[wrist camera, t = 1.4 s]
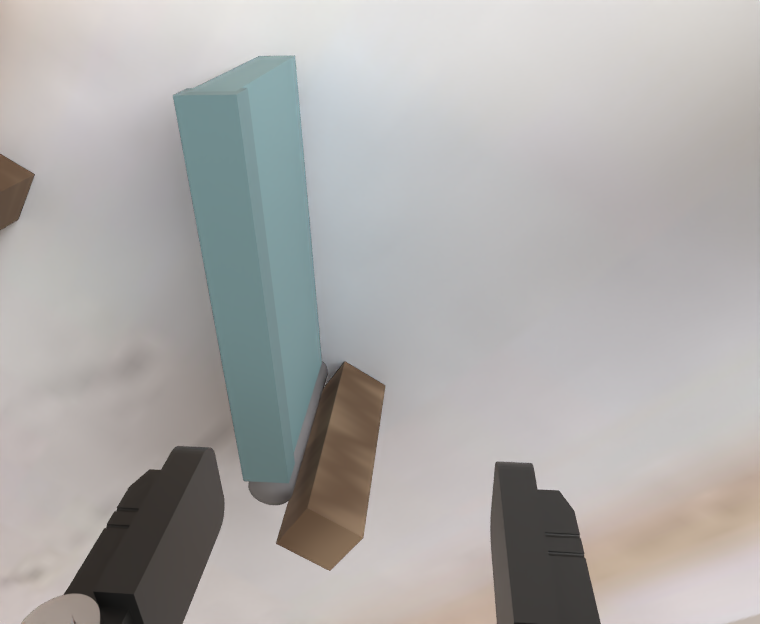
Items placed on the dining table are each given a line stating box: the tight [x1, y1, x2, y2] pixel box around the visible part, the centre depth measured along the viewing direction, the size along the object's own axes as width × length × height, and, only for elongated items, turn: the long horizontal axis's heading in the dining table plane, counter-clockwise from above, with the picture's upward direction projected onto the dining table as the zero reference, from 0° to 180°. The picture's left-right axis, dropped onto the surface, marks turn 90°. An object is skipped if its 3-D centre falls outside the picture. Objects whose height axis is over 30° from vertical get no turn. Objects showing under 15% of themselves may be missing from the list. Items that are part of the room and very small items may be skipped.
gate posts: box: [0, 154, 385, 571], centre depth 29 cm, size 25×3×11 cm, turn 56°
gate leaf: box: [173, 56, 328, 505], centre depth 27 cm, size 18×2×10 cm, turn 1°
